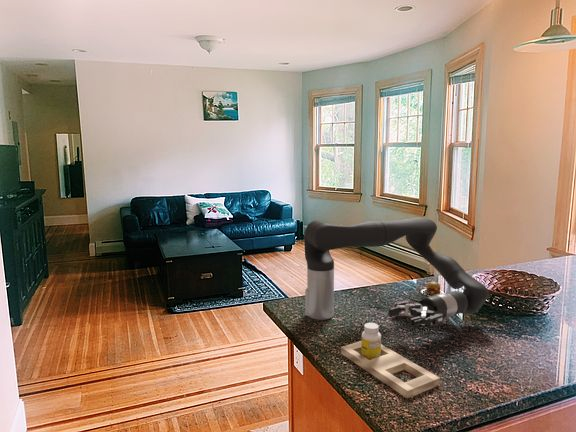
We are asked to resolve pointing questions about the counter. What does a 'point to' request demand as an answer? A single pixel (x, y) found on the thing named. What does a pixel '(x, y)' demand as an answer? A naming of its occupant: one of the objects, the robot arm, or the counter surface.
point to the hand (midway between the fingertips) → (399, 317)
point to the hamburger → (433, 288)
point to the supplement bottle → (371, 341)
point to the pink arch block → (403, 310)
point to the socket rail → (392, 370)
